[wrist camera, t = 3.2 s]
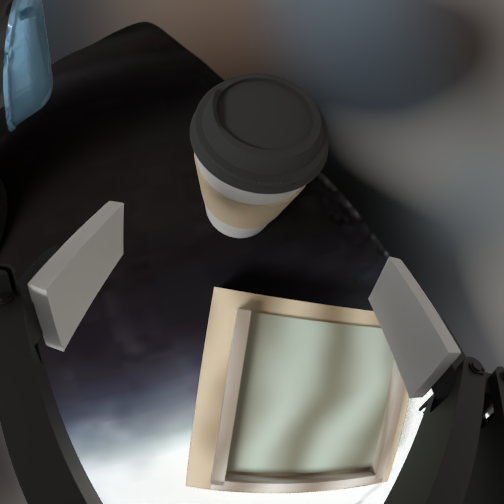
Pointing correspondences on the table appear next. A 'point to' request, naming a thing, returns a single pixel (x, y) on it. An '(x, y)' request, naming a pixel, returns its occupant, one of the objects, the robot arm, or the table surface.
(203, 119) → the coffee cup
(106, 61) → the table surface
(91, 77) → the table surface
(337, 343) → the tray
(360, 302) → the table surface
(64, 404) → the table surface
